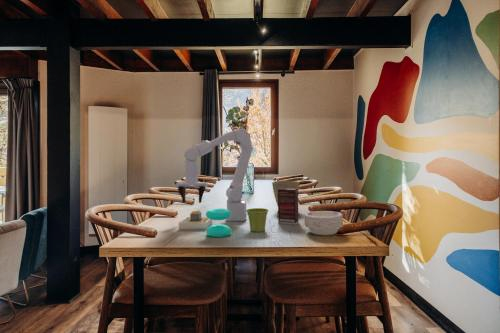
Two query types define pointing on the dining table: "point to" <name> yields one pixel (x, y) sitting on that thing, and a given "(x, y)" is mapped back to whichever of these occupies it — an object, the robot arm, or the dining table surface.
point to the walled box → (195, 224)
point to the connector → (195, 216)
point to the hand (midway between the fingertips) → (192, 202)
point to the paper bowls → (323, 222)
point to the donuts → (218, 229)
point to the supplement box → (288, 206)
